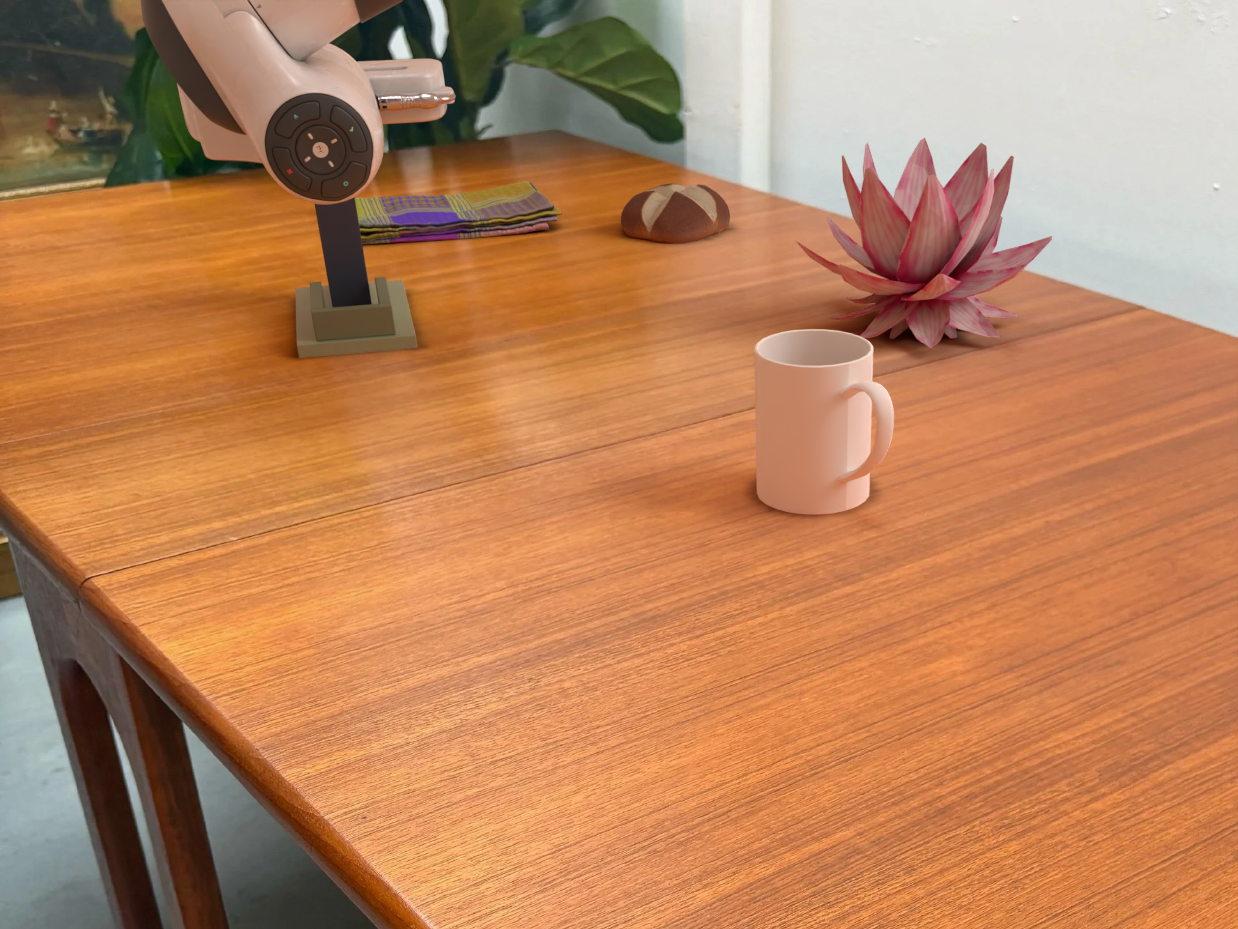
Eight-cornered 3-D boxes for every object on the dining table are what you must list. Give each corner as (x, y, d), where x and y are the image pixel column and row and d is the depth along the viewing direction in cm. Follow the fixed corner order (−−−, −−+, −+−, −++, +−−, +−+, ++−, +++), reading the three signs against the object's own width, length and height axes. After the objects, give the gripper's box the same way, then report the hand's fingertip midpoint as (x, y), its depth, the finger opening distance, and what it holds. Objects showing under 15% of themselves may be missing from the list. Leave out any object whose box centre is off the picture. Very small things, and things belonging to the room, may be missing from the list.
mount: (418, 352, 132) (394, 189, 124) (299, 362, 129) (268, 197, 122) (405, 295, 146) (383, 146, 138) (298, 303, 144) (269, 152, 136)
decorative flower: (760, 318, 139) (757, 144, 131) (953, 287, 148) (962, 121, 139) (880, 386, 124) (885, 194, 115) (1088, 347, 132) (1107, 164, 124)
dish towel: (328, 214, 173) (323, 188, 171) (539, 198, 179) (537, 174, 177) (336, 252, 159) (332, 225, 157) (565, 234, 165) (563, 208, 163)
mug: (735, 490, 106) (731, 342, 100) (826, 466, 110) (828, 321, 104) (835, 551, 98) (837, 393, 92) (930, 523, 101) (938, 369, 96)
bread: (746, 229, 166) (745, 182, 164) (680, 252, 159) (678, 202, 156) (668, 215, 172) (666, 169, 169) (601, 236, 164) (598, 188, 161)
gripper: (452, 54, 113) (437, 29, 124) (163, 67, 108) (174, 40, 119) (463, 144, 116) (447, 113, 127) (184, 161, 112) (193, 126, 123)
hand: (313, 78), depth 123 cm, fingers closed on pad, 3 cm apart
